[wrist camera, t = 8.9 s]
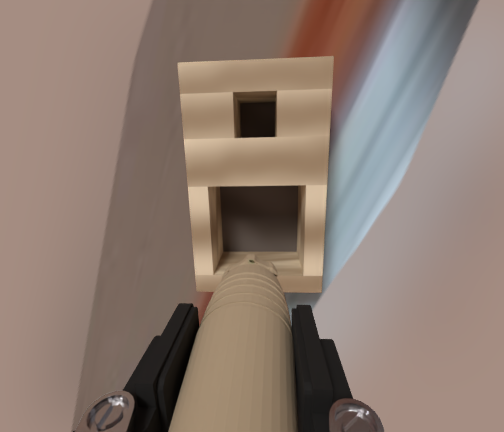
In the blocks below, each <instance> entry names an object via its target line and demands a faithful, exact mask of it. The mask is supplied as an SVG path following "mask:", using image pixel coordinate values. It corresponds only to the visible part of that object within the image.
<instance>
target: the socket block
mask: <svg viewBox="0 0 504 432" xmlns="http://www.w3.org/2000/svg"><path fill="white" fill-rule="evenodd" d="M333 60H334V56H328V57H304V58H280V59H256V60H231V61H207V62H183V63H178V74H179V86H180V98H181V110H182V122H183V134H184V146H185V158H186V170H187V182H188V193H189V205H190V217H191V229H192V241H193V253H194V265H195V277H196V289H197V291H207V292H215V290H216V288H217V286H218V285H219V283H220V281H221V280H222V276H223V274H224V272H225V270H226V269H227V268H228V266H229V265H230V264H236V263H238V262H240V261H242V260H243V259H244V258H245V257H246V256H247V255H248V254H255V255H256V256H257V257H258V258H259V259H260V260H262V261H265V262H272V263H273V265H274V266H275V268H276V270H277V273H278V276H277V279H278V281H279V283H280V285H281V287H282V289H283V292H299V293H322V274H323V255H324V235H325V216H326V196H327V177H328V157H329V138H330V119H331V99H332V80H333Z"/></svg>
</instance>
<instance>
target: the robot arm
mask: <svg viewBox="0 0 504 432" xmlns="http://www.w3.org/2000/svg"><path fill="white" fill-rule="evenodd" d="M198 329H199V318H198V309H197V307H194V306H193V304H185V303H180V304H178V306H177V308H176V310H175V311H174V313H173V315H172V317H171V319H170V320H169V322H168V324H167V326H166V328H165V329H164V331H163V333H162V335H161V336H155V337H154V339H153V340H152V342H151V343H150V345H149V347H148V348H147V350H146V352H145V353H144V355H143V357H142V359H141V360H140V362H139V364H138V365H137V367H136V369H135V370H134V372H133V374H132V376H131V377H130V379H129V381H128V382H127V384H126V386H125V387H124V389H123V391H114V392H110V393H107V394H105V395H103V396H101V397H100V398H98V399H97V400H95V401H94V402H93V403H92V404H91V405H90V406H89V407H88V408H87V410H86V411H85V413H84V414H83V416H82V418H81V420H80V422H79V424H78V426H77V428H76V430H75V431H73V432H168V431H169V427H170V424H171V420H172V417H173V413H174V410H175V406H176V403H177V400H178V396H179V393H180V389H181V386H182V382H183V379H184V375H185V372H186V368H187V365H188V361H189V358H190V354H191V351H192V347H193V344H194V340H195V337H196V334H197V332H198ZM292 336H293V344H294V358H295V377H296V398H297V418H298V432H384V428H383V425H382V423H381V420H380V418H379V417H378V415H377V414H376V413H375V411H373V410H372V409H371V408H370V407H369V406H368V405H366V404H364V403H363V402H361V401H358V400H355V399H353V397H352V394H351V391H350V388H349V386H348V382H347V380H346V377H345V373H344V370H343V367H342V364H341V361H340V359H339V355H338V352H337V350H336V347H335V344H334V341H333V340H332V339H319V335H318V331H317V328H316V324H315V320H314V317H313V313H312V309H311V306H310V305H297V309H292Z"/></svg>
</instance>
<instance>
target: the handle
mask: <svg viewBox="0 0 504 432" xmlns="http://www.w3.org/2000/svg"><path fill="white" fill-rule="evenodd" d="M277 276H278V273H277V270H276V268H275V266H274V265H273V263H272V262H265V261H262V260H260V259H259V258H258V257H257V256H256V255H255V254H248V255H247V256H246V257H245V258H244V259H243V260H242V261H240V262H238V263H236V264H230V265H229V266H228V268H227V269H226V270H225V272H224V274H223V276H222V280H221V281H220V283H219V285H218V286H217V288H216V290H215V292H214V294H213V296H212V298H211V300H210V302H209V304H208V306H207V309H206V311H205V314H204V316H203V319H202V321H201V324H200V327H199V329H198V332H197V334H196V337H195V340H194V344H193V347H192V351H191V354H190V358H189V361H188V365H187V368H186V372H185V375H184V379H183V382H182V386H181V389H180V393H179V396H178V400H177V403H176V406H175V410H174V413H173V417H172V420H171V424H170V427H169V431H168V432H298V418H297V398H296V377H295V358H294V344H293V336H292V327H291V321H290V316H289V311H288V307H287V303H286V299H285V295H284V292H283V289H282V287H281V285H280V283H279V281H278V279H277Z"/></svg>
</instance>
